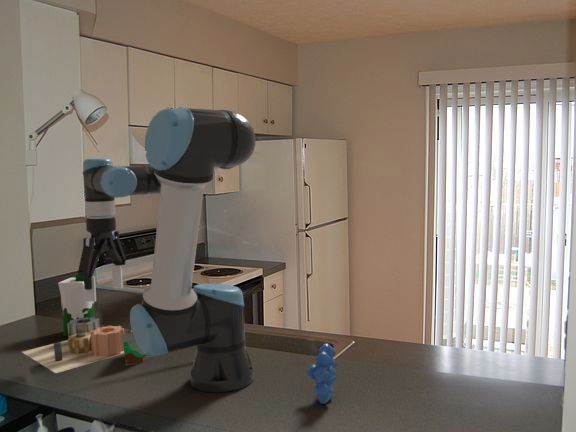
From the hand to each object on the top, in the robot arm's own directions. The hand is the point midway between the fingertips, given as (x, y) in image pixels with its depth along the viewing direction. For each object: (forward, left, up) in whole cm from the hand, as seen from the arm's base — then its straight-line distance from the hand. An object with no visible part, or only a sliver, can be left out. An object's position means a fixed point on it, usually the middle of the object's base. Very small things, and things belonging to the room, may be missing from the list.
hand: (105, 294), depth 150 cm
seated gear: (+14, 0, -16) cm, 21 cm away
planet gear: (0, 0, -16) cm, 16 cm away
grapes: (-62, -19, -18) cm, 67 cm away
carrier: (+7, +4, -18) cm, 19 cm away
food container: (-12, -4, -18) cm, 22 cm away
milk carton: (+24, -3, -18) cm, 30 cm away
